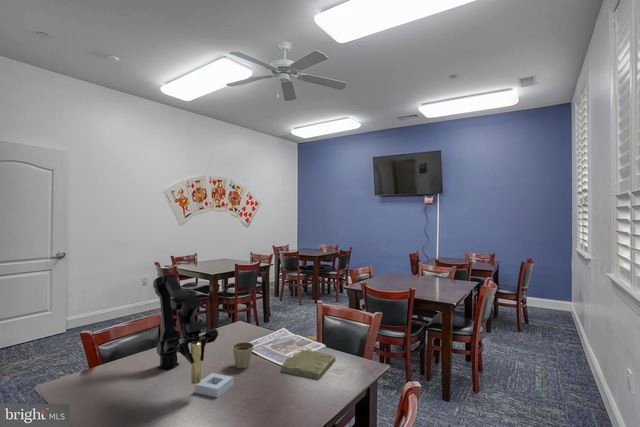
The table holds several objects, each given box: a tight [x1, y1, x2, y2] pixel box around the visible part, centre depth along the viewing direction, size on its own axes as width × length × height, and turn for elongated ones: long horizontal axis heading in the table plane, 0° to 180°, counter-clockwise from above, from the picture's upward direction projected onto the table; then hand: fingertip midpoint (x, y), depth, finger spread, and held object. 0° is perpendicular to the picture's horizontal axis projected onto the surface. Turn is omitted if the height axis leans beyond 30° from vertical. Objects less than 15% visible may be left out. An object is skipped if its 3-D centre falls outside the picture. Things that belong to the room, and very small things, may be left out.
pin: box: [190, 341, 202, 385], centre depth 124 cm, size 3×3×14 cm
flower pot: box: [231, 341, 255, 369], centre depth 150 cm, size 9×9×9 cm
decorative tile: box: [280, 349, 336, 380], centre depth 151 cm, size 19×20×4 cm
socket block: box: [194, 372, 235, 398], centre depth 130 cm, size 10×10×3 cm
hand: (197, 362), depth 123 cm, fingers closed on pin, 3 cm apart
